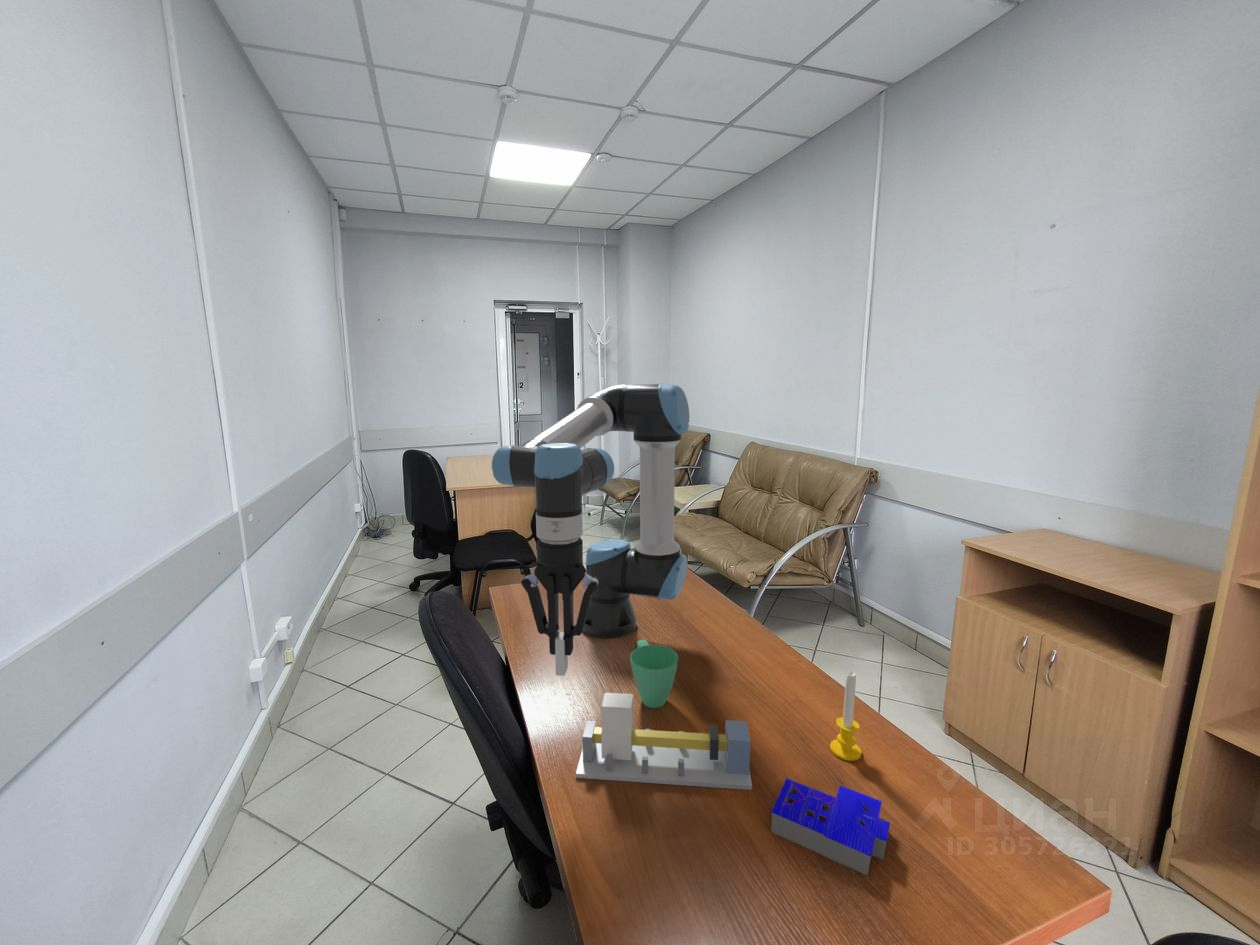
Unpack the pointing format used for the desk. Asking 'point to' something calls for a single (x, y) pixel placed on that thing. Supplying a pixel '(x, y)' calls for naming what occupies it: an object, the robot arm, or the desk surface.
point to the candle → (847, 725)
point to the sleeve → (617, 725)
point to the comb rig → (673, 757)
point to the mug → (653, 672)
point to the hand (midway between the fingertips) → (561, 671)
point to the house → (832, 824)
